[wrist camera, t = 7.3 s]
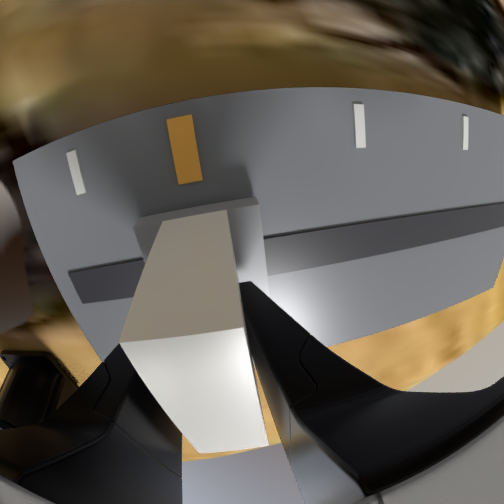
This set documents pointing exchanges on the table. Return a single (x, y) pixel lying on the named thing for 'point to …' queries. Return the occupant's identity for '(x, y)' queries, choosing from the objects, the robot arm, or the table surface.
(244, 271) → the fader tab
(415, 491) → the robot arm
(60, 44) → the table surface
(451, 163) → the fader console
